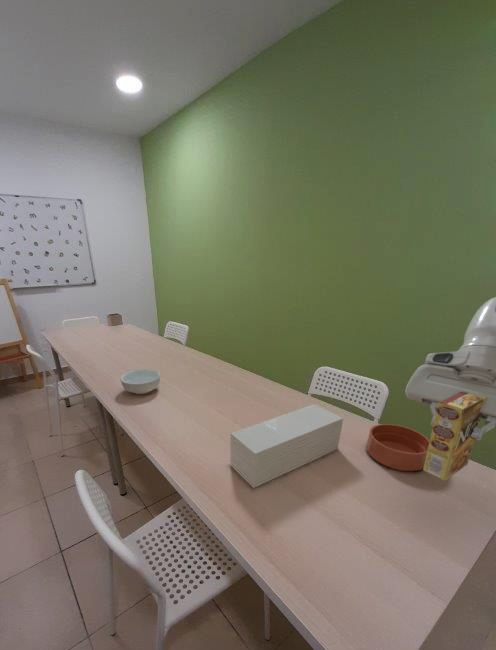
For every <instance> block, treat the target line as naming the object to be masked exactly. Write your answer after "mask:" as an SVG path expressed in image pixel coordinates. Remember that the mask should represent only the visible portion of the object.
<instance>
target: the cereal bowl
mask: <svg viewBox="0 0 496 650" xmlns="http://www.w3.org/2000/svg"><path fill="white" fill-rule="evenodd" d="M120 383H121V386H122V387H123V389H124V390H125V391H126V392H130V393H132V394H136V395H144V394H148V393H150V392H152V391H154V390H155V389H157V388H158V386H159V385H160V383H161V374H160V372H158V371H157V370H153V369H145V368H143V369H136V370H135V369H133V370H130V371H128V372H126V373H124V374H122V375H121V376H120Z"/></svg>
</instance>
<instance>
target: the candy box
mask: <svg viewBox="0 0 496 650" xmlns="http://www.w3.org/2000/svg"><path fill="white" fill-rule="evenodd" d="M486 399H487V397H485V396H482V395H477V394H472V393H466V392H459V393H457V394H455V395H453V396H451V397H449V398H447V399H445V400H443V401H440V402H439V403H438V407H437V411H436V415H435V420H434V424H433V426H432V428H431V433H430V437H429V440H430V442H429V447H428V451H427V455H426V460H425V464H424V468H422V471H424V472H426V473H428V474H430V475H432V476H434V477H435V478H438V479H440V480H442V481H446V480H448V479H449V478H451V477H452V476H454V475H455V474H457V473H458V472H459V471H461V470H462V469H463V468H465V467H466V466H468V464H469V460H470V456H471V453H472V450H473V446H474V444H475V443H474V442H475V441H476V439H472V438H470V437H471V434H472V432H473V429H474V427H476V428H479V426H480V422H481V420H482V419H481V414H482V413H479V411H480V409H481V407H482V405H483V404H484V402H485V400H486Z"/></svg>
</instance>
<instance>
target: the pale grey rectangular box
mask: <svg viewBox="0 0 496 650" xmlns="http://www.w3.org/2000/svg"><path fill="white" fill-rule="evenodd" d="M343 421H344V418H343V417H342V416H339V415H337V414H335V413H333V412H331V411H330V410H327V409H325V408H324V407H321V406H319V405H317V404H315V403H313V404H310V405H308V406H305V407H302V408H299V409H296V410H293V411H290V412H288V413H284V414H282V415H279V416H276V417H272V418H270V419H267V420H265V421H261V422H259V423H256V424H252V425H250V426H247V427H244V428H242V429H239V430H236V431H233V432H230V449H229V450H230V453H229V454H230V457H229V458H230V460H229V461H230V462H229V463H230V466H231V468H232V469H234V470H235V471H236V472H237V474H239V476H241V477H242V479H244V480H245V481H246V482H247V483H248V484H249V485H250V486H251V487H252V489H255V488H257V487H260V486H261V485H264V484H265V483H267V482H270V481H272V480H274V479H277V478H278V477H280V476H282V475H285V474H287V473H289V472H292V471H294V470H296V469H298V468H300V467H302V466H304V465H306V464H309V463H311V462H313V461H315V460H317V459H319V458H322V457H324V456H326V455H328V454H330V453H332V452H334V451H337V450H339V445H340V439H341V434H342V433H341V432H342V429H343Z"/></svg>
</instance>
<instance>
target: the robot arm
mask: <svg viewBox="0 0 496 650" xmlns="http://www.w3.org/2000/svg"><path fill="white" fill-rule="evenodd" d="M404 392H405V393H404V394H405V396H406V398H407V399H408V400H410V401H413V402H417V403H420V404H425V405H428V406H429V409H430V414H431V417H432V418H431V420H430V427H433V424H434V420H435V415H436V411H437V407H438V403H439V402H440V401H443V400H445V399H447V398H449V397H451V396H453V395H455V394H457V393H459V392H466V393H472V394H477V395H482V396H485V397H487V399H486V400H485V402H484V404H483V405H482V407H481V409H480V411H479V413H482V414H481V419H480V420H485V422H484V425H483V426H481V427H480V428H479V427H478V428H476V427H474V429H473V432H472V434H471V437H470V438H472V439H475V441H478V442H479V441H482V438H483V435H484V434H486V433H487V432H489V431H491V430H493V429H494V428H495V426H496V296H494V297H492V298H489V299H488V300H486V301H485V302H484V303H483V304H482V305H480V307H479V308H478V309H477V310H476V311H475V313H474V315H473V316H472V318H471V320H470V322H469V324H468V325H467V329H466V330H465V332H464V335H463V343H462V345H461V346H460V347H459V348H458V349H457V350H455V351H444V352H432V353H428V354H427V355H426V358H425V360H424V364H421V365H420V366H418V367H417V369H416V370H415V371H413V374H412V375H411V377H410V379H409V380H408V382H407V384H406V387H405V390H404Z"/></svg>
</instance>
